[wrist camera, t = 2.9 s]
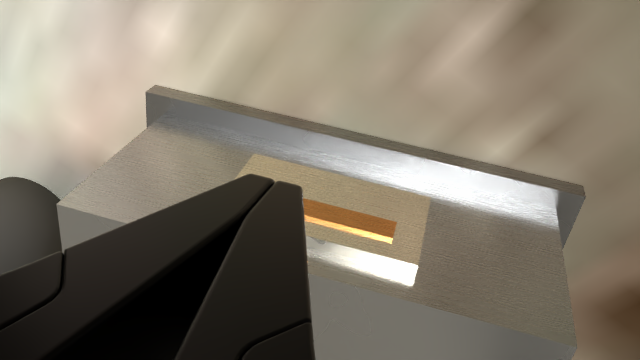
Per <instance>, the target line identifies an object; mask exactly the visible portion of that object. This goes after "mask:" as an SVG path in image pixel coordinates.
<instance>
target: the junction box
mask: <svg viewBox="0 0 640 360" xmlns="http://www.w3.org/2000/svg"><path fill="white" fill-rule="evenodd" d="M146 117H147V128H146V129H145V130H144V131H143V132H142V133H141V134H139V135H138V136H137V137H136V138H135V139H133V140H132V141H131V142H130V143H129V144H127V145H126V146H125V147H124V148H123V149H121V150H120V151H119V152H118V153H117V154H116V155H114V156H113V157H112V158H111V159H110V160H108V161H107V162H106V163H105V164H104V165H102V166H101V167H100V168H99V169H98V170H96V171H95V172H94V173H93V174H92V175H91V176H89V177H88V178H87V179H86V180H85V181H83V182H82V183H81V184H80V185H79V186H77V187H76V188H75V189H74V190H73V191H71V192H70V193H69V194H68V195H67V196H66V197H64V198H63V199H62V200H61V201H60V202H58V203H57V212H58V220H59V228H60V236H61V244H62V252H63V253H64V250H65V249H66V248H69V247H71V246H74V245H76V244H78V243H81V242H83V241H86V240H88V239H91V238H93V237H96V236H98V235H100V234H103V233H105V232H108V231H110V230H113V229H115V228H118V227H120V226H122V225H125V224H127V223H130V222H132V221H135V220H137V219H139V218H142V217H144V216H147V215H149V214H152V213H154V212H157V211H159V210H161V209H164V208H166V207H169V206H171V205H174V204H176V203H178V202H181V201H183V200H186V199H188V198H191V197H193V196H196V195H198V194H200V193H203V192H205V191H208V190H210V189H213V188H215V187H217V186H220V185H222V184H225V183H227V182H230V181H232V180H235V179H237V178H239V177H242V176H244V175H247V174H256V175H260V176H264V177H268V178H271V179H273V180H274V181H275V182H276V181H284V182H288V183H292V184H296V185H299V186H301V187H302V190H303V203H304V217H305V231H306V245H307V259H308V273H309V287H310V301H311V315H312V326H313V340H314V350H315V359H316V360H571V359H572V357H573V355H574V353H575V351H576V349H577V342H576V336H575V329H574V323H573V316H572V310H571V303H570V297H569V290H568V284H567V277H566V270H565V264H564V257H563V251H562V249H563V247H564V245H565V243H566V240H567V238H568V236H569V234H570V231H571V229H572V227H573V225H574V222H575V220H576V218H577V215H578V213H579V211H580V209H581V206H582V204H583V202H584V200H585V197H586V196H585V192H584V188H583V186H581V185H577V184H572V183H568V182H564V181H560V180H555V179H551V178H547V177H543V176H538V175H534V174H530V173H526V172H522V171H517V170H513V169H509V168H505V167H500V166H496V165H492V164H488V163H483V162H479V161H475V160H471V159H466V158H462V157H458V156H454V155H450V154H445V153H441V152H437V151H433V150H428V149H424V148H420V147H416V146H411V145H407V144H403V143H399V142H395V141H390V140H386V139H382V138H378V137H373V136H369V135H365V134H361V133H356V132H352V131H348V130H344V129H339V128H335V127H331V126H327V125H323V124H318V123H314V122H310V121H306V120H301V119H297V118H293V117H289V116H284V115H280V114H276V113H272V112H267V111H263V110H259V109H255V108H251V107H246V106H242V105H238V104H234V103H229V102H225V101H221V100H217V99H212V98H208V97H204V96H200V95H195V94H191V93H187V92H183V91H179V90H174V89H170V88H166V87H162V86H157V85H155V86H153V87H152V88H150V89H149V90H148V91H146Z"/></svg>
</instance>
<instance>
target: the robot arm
mask: <svg viewBox="0 0 640 360" xmlns="http://www.w3.org/2000/svg"><path fill="white" fill-rule="evenodd" d="M0 360H316V359H315V350H314V340H313V326H312V315H311V301H310V287H309V273H308V259H307V245H306V231H305V217H304V203H303V190H302V187H301V186H299V185H296V184H292V183H288V182H284V181H276V182H275V181H274V180H273V179H271V178H268V177H264V176H260V175H256V174H247V175H244V176H242V177H239V178H237V179H235V180H232V181H230V182H227V183H225V184H222V185H220V186H217V187H215V188H213V189H210V190H208V191H205V192H203V193H200V194H198V195H196V196H193V197H191V198H188V199H186V200H183V201H181V202H178V203H176V204H174V205H171V206H169V207H166V208H164V209H161V210H159V211H157V212H154V213H152V214H149V215H147V216H144V217H142V218H139V219H137V220H135V221H132V222H130V223H127V224H125V225H122V226H120V227H118V228H115V229H113V230H110V231H108V232H105V233H103V234H100V235H98V236H96V237H93V238H91V239H88V240H86V241H83V242H81V243H78V244H76V245H74V246H71V247H69V248H66V249H65V250H64V253H62V252H60V251H59V252H56V253H54V254H51V255H49V256H46V257H44V258H42V259H39V260H37V261H34V262H32V263H29V264H26V265H24V266H21V267H19V268H16V269H13V270H11V271H8V272H6V273H3V274H1V275H0Z"/></svg>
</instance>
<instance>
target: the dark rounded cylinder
mask: <svg viewBox="0 0 640 360" xmlns="http://www.w3.org/2000/svg"><path fill="white" fill-rule="evenodd" d="M60 201H61V200H60V199H59V198H58V197H57V196H55V195H54V194H53V193H52V192H51V191H49V190H48V189H46V188H45V187H43V186H41V185H40V184H38V183H36V182H33V181H31V180H28V179H24V178H19V177H8V178H3V179H1V180H0V275H1V274H3V273H6V272H8V271H11V270H13V269H16V268H19V267H21V266H24V265H26V264H29V263H32V262H34V261H37V260H39V259H42V258H44V257H46V256H49V255H51V254H54V253H56V252H59V251H60V252H62V244H61V236H60V228H59V220H58V212H57V203H58V202H60ZM62 253H63V252H62Z"/></svg>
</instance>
